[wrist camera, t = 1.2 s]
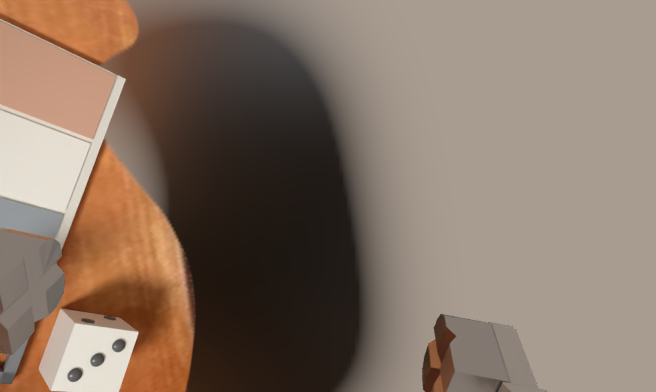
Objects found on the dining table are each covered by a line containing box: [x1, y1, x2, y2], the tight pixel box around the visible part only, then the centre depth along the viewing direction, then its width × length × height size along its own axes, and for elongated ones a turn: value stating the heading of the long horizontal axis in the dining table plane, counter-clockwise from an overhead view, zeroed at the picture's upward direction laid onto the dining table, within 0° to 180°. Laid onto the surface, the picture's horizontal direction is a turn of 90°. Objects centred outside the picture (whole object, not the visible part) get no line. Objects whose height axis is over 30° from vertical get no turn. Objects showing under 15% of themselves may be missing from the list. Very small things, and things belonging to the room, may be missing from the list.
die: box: [38, 308, 139, 392], centre depth 46 cm, size 6×6×6 cm
